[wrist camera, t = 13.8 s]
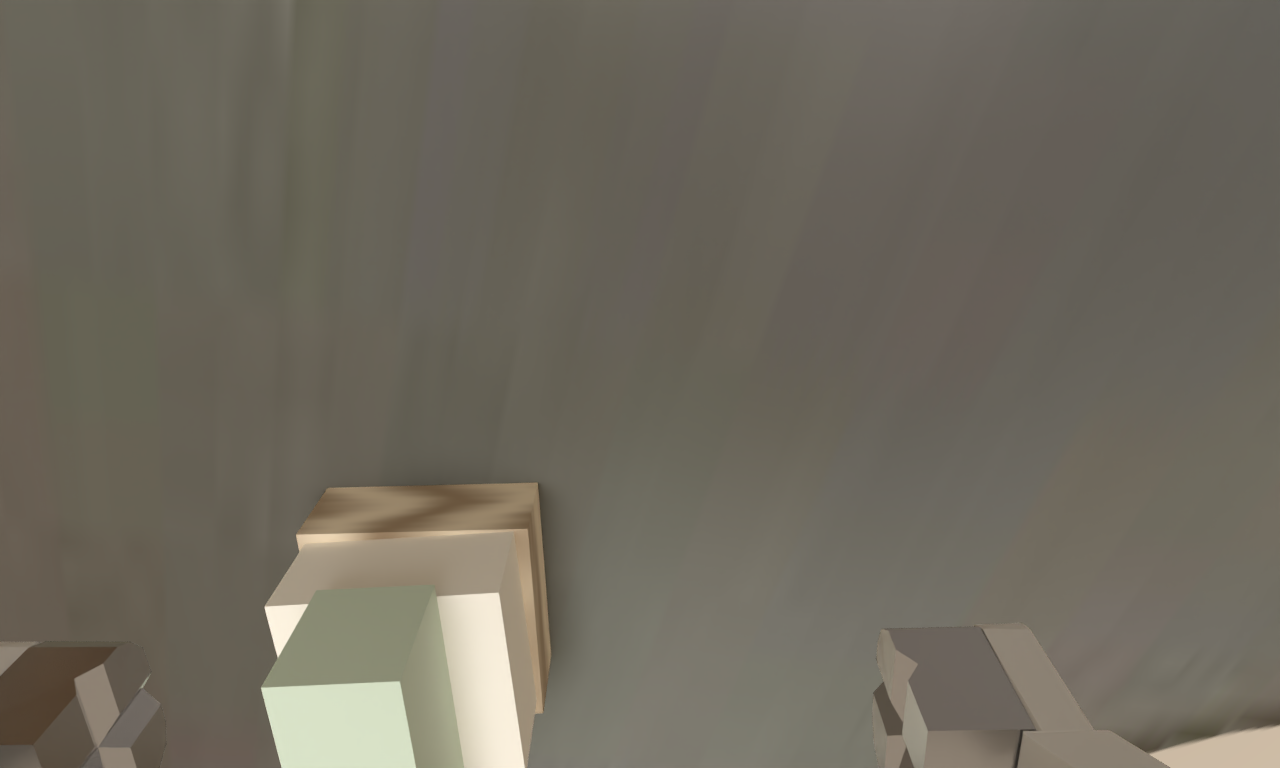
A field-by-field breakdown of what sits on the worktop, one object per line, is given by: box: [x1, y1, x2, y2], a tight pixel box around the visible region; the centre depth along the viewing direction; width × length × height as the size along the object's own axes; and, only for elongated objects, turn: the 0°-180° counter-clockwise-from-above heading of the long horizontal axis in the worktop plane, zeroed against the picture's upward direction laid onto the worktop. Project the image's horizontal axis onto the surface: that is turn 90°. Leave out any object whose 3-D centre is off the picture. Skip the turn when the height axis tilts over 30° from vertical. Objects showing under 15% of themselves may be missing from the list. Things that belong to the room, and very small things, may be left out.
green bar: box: [261, 585, 464, 768], centre depth 37 cm, size 5×11×6 cm, turn 3°
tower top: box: [265, 531, 537, 768], centre depth 42 cm, size 10×10×5 cm
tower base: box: [296, 483, 551, 713], centre depth 47 cm, size 11×11×5 cm
